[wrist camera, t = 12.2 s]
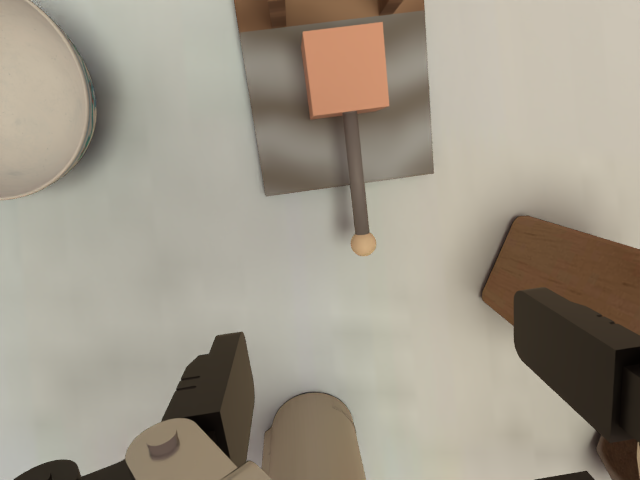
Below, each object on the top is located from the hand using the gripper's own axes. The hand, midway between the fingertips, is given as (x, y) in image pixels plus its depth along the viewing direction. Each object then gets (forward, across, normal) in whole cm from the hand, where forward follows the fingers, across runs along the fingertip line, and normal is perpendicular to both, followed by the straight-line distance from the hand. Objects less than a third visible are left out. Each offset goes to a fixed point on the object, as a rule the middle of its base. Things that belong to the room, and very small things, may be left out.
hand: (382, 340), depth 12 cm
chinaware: (+28, +23, -12) cm, 38 cm away
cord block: (+27, -3, -5) cm, 27 cm away
